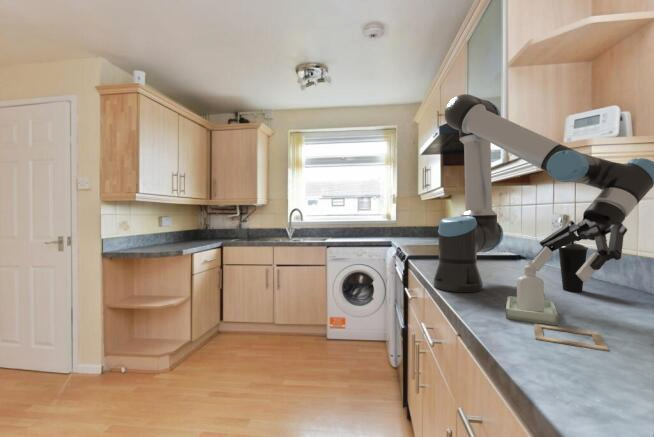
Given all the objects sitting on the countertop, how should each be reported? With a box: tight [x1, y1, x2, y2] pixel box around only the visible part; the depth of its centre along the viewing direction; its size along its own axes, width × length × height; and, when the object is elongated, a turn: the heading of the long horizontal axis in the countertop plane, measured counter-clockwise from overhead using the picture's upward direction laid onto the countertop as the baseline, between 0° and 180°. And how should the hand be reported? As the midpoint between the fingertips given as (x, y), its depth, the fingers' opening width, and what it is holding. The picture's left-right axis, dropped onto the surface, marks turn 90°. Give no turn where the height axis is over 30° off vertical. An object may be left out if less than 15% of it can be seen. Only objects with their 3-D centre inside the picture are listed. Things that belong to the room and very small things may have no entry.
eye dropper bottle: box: [516, 260, 545, 312], centre depth 79 cm, size 4×6×12 cm
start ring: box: [533, 323, 610, 352], centre depth 64 cm, size 11×9×1 cm
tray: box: [505, 295, 559, 327], centre depth 78 cm, size 10×13×2 cm
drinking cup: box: [558, 241, 589, 293], centre depth 100 cm, size 8×8×20 cm
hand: (555, 272), depth 79 cm, fingers open, 13 cm apart
